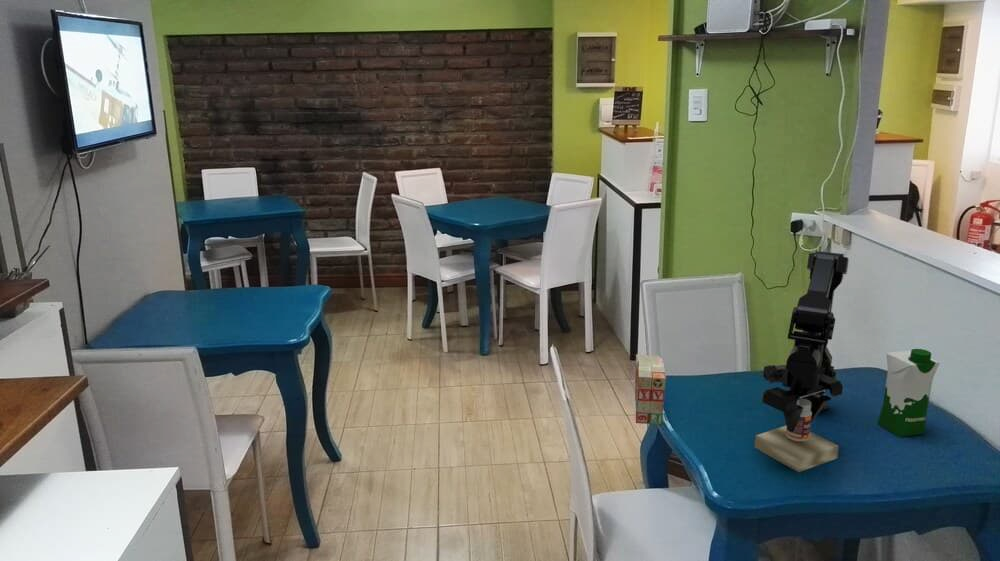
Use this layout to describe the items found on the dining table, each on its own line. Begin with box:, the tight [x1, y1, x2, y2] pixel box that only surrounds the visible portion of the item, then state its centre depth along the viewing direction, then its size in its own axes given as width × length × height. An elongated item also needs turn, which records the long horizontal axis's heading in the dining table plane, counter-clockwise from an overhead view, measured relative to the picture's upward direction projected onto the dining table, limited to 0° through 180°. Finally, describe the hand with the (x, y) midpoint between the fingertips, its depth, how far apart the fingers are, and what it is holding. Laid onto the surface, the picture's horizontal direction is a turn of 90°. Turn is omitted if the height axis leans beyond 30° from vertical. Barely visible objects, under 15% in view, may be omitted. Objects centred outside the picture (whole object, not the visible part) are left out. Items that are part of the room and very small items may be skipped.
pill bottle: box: [786, 398, 812, 441], centre depth 162 cm, size 5×5×8 cm
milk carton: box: [877, 348, 940, 438], centre depth 172 cm, size 9×9×20 cm
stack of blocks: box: [634, 354, 667, 426], centre depth 186 cm, size 21×6×12 cm, turn 171°
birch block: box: [754, 425, 840, 473], centre depth 164 cm, size 12×12×3 cm
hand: (798, 428), depth 163 cm, fingers closed on pill bottle, 5 cm apart
